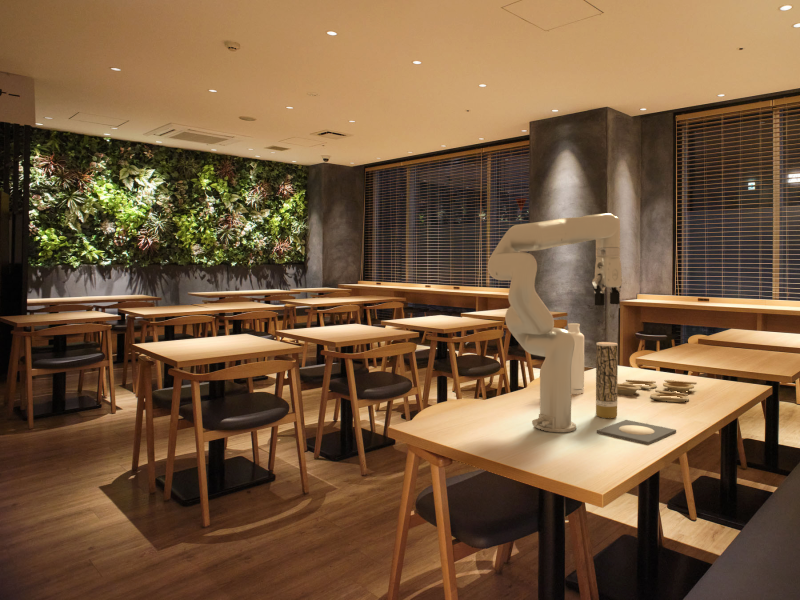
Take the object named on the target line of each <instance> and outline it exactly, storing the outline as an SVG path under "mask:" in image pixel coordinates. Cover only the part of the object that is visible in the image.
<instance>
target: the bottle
mask: <svg viewBox="0 0 800 600" xmlns="http://www.w3.org/2000/svg"><path fill="white" fill-rule="evenodd" d="M580 326H581V323H576V322H573V323H567V328H568V329H567V331H568V332H570V333H571V334H572V336H573V337H574V341H575V347H574V352H573V357H572V365H571V395H582V394H581V393H583V394H584V393H585V335H584V334H583V333H582V332H581V330H580Z"/></svg>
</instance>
